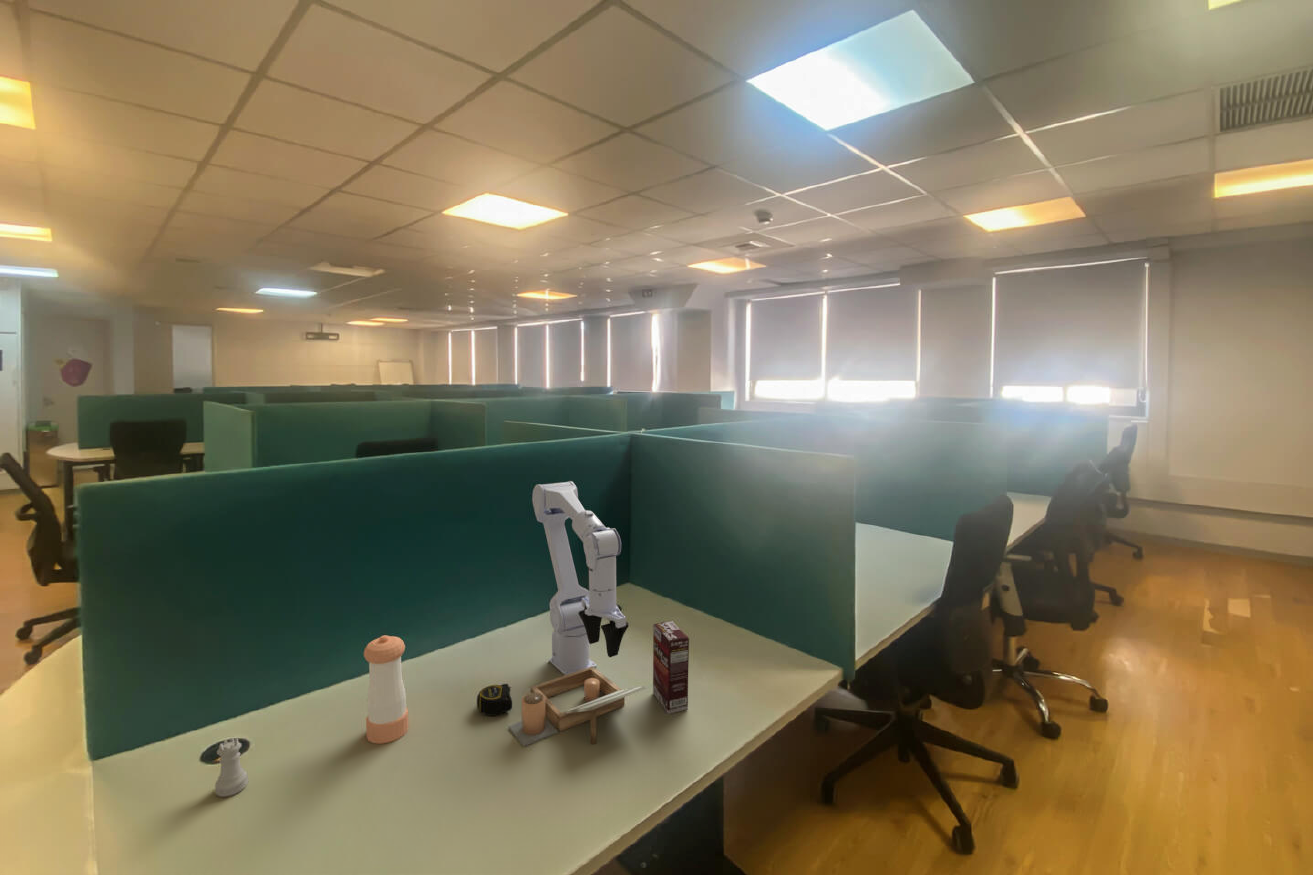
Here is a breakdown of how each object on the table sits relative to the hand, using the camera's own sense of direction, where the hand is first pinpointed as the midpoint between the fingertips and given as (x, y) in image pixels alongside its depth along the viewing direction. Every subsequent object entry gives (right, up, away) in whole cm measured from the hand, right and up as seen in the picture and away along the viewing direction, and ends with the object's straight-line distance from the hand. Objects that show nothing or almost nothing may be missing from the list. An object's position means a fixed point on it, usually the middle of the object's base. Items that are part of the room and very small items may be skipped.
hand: (603, 648), depth 121 cm
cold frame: (-2, -11, -6) cm, 13 cm away
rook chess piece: (-59, -13, -28) cm, 66 cm away
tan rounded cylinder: (-2, -11, 0) cm, 11 cm away
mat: (-13, -12, -11) cm, 20 cm away
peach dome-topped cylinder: (-12, -11, -11) cm, 20 cm away
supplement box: (+14, -11, -1) cm, 18 cm away
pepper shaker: (-40, -12, -12) cm, 43 cm away
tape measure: (-21, -11, -4) cm, 24 cm away
